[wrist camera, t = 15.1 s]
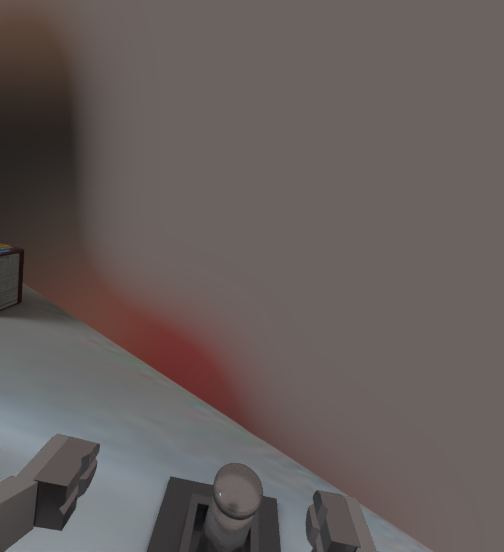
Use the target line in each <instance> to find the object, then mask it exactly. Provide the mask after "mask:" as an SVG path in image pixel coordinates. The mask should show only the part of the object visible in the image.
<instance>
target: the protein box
mask: <svg viewBox="0 0 504 552" xmlns="http://www.w3.org/2000/svg"><path fill="white" fill-rule="evenodd" d="M23 264H24V249H21V248H17V247H12V246H8V245H3V244H0V310H3V309H5V308H8V307H10V306H13V305H15V304H18V303H20V302H21V301H22V281H23Z"/></svg>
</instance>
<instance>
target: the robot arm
mask: <svg viewBox="0 0 504 552" xmlns="http://www.w3.org/2000/svg"><path fill="white" fill-rule="evenodd" d="M99 448H100V444H98V443H94V442H90V441H86V440H82V439H78V438H74V437H69V436H65V435H61V434H56V435H55V436H53V437H52V438H51V439H50V440H49V441H48V442H47V443H46V445H45V446H44V447H43V448H42V449H41V450H40V451H39V452H38V453H37V454H36V456H35V457H34V458H33V459H32V460H31V461H30V462H29V463H28V464H27V465H26V467H25V468H24V469H23V470H22V471H21V472H20V473H19V474H18V475H17V476H16V477H13V476H11V477H9V478H7V479H5V480H3V481H1V482H0V552H4V551H5V550H7V549H8V548H9V547H10V546H12V545H13V544H14V543H15V542H17V541H18V540H19V539H21V538H22V537H23V536H24V535H26V534H27V533H28V532H30V531H31V530H32V529H33V527H41V528H47V529H53V530H59V531H62V529H63V528H64V526H65V525H66V523H67V521H68V520H69V518H70V516H71V515H72V513H73V512H74V510H75V508H76V503H77V498H79V497H80V496H82V495H83V494H84V493H85V492H86V490H87V488H88V487H89V485H90V483H91V481H92V479H93V476H94V474H95V471H96V468H97V460H96V458H95V457H96V456H97V454H98V453H99ZM313 502H314V503H313V504H312V505H310V506H309V508H308V511H307V513H306V535H307V540H308V542H309V543H310V545H311V546H312V548H313V549H312V551H311V552H378V551H376V548H375V545H374V543H373V540H372V537H371V535H370V532H369V529H368V526H367V524H366V521H365V518H364V516H363V513H362V510H361V508H360V505H359V502H358V501H357V499H356V498H352V497H347V496H342V495H339V494H334V493H329V492H324V491H319V490H317V491H315V493H314V495H313Z"/></svg>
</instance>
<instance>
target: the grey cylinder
mask: <svg viewBox="0 0 504 552" xmlns="http://www.w3.org/2000/svg"><path fill="white" fill-rule="evenodd" d="M262 496H263V488H262V484H261V481H260V479H259V477H258V476H257V474H256V473H255V472H254V471H253V470H252V469H251V468H249V467H248V466H246V465H243V464H240V463H230V464H227V465H225V466H223V467H222V468H221V469H220V470H219V471H218V473H217V475H216V477H215V480H214V484H213V494H212V497H211V501H210V504H209V508H208V511H207V515H206V518H205V522H204V525H203V528H202V532H201V535H200V539H199V542H198V546H197V549H196V552H242V550H243V547H244V544H245V541H246V538H247V535H248V532H249V529H250V526H251V523H252V520H253V518H254V515H255V513H256V512H257V510H258V508H259V506H260V503H261V500H262Z"/></svg>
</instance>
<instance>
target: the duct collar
mask: <svg viewBox="0 0 504 552" xmlns="http://www.w3.org/2000/svg"><path fill="white" fill-rule="evenodd" d="M212 494H213V485H209V484H204V483H199V482H194V481H190V480H185V479H180V478H176V477H170V480H169V483H168V486H167V489H166V492H165V496H164V499H163V502H162V505H161V508H160V511H159V515H158V518H157V521H156V524H155V527H154V530H153V533H152V537H151V540H150V543H149V546H148V549H147V552H196V549H197V546H198V542H199V539H200V535H201V532H202V528H203V525H204V522H205V518H206V515H207V511H208V508H209V504H210V501H211V497H212ZM242 552H281V550H280V537H279V524H278V512H277V499H275V498H270V497H265V496H262V500H261V503H260V506H259V508H258V510H257V512H256V513H255V515H254V518H253V520H252V523H251V526H250V529H249V532H248V535H247V538H246V541H245V544H244V547H243V550H242Z"/></svg>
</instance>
